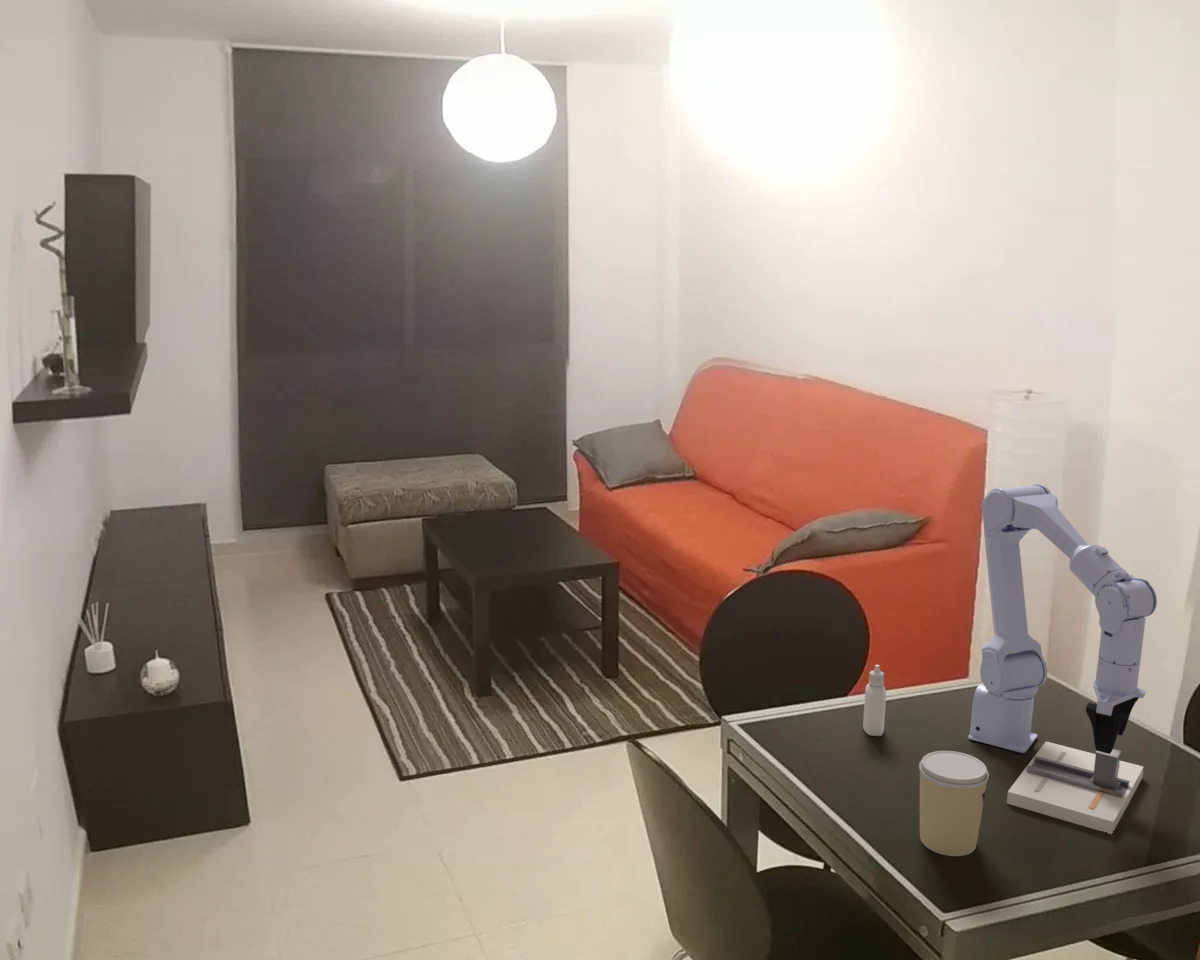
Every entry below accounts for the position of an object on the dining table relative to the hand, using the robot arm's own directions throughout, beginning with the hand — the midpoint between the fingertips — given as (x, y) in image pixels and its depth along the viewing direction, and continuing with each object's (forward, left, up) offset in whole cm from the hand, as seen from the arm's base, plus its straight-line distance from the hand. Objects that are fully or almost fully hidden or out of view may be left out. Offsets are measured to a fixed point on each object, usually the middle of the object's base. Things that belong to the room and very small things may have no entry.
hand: (1109, 742), depth 171 cm
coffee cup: (-15, -27, -10) cm, 32 cm away
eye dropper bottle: (-38, +1, -10) cm, 39 cm away
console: (-4, 0, -9) cm, 10 cm away
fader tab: (0, 0, -7) cm, 7 cm away
